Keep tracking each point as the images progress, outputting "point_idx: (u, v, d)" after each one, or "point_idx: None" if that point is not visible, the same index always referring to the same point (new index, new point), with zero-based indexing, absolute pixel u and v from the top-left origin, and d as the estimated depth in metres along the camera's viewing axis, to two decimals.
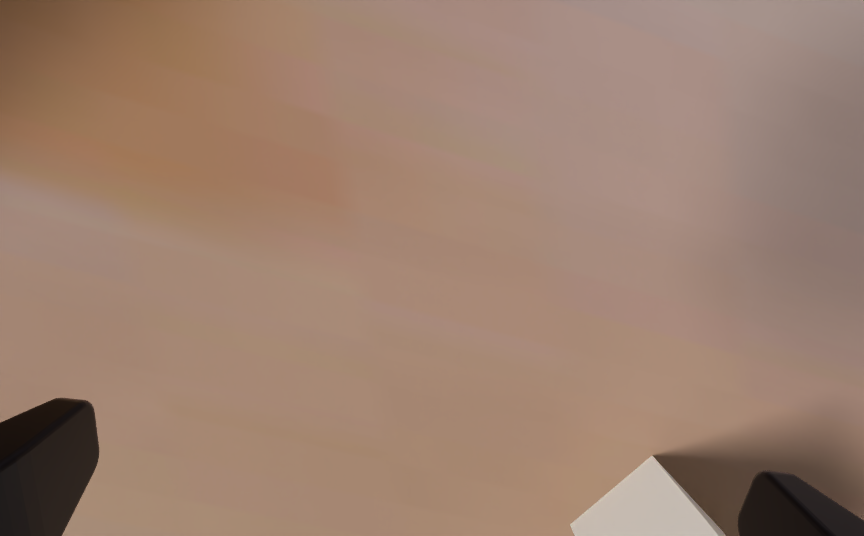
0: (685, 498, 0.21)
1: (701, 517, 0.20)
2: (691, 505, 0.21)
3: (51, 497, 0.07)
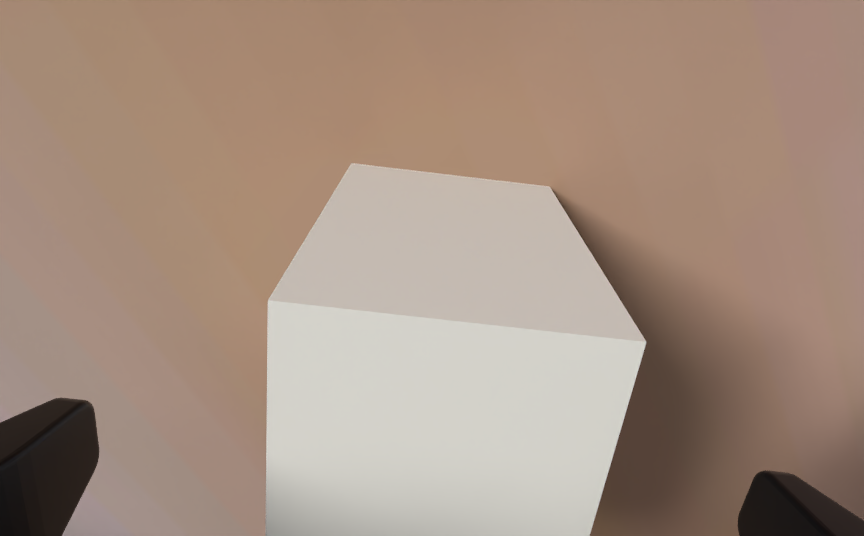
0: (576, 235, 0.11)
1: (593, 262, 0.09)
2: (582, 245, 0.10)
3: (51, 497, 0.07)
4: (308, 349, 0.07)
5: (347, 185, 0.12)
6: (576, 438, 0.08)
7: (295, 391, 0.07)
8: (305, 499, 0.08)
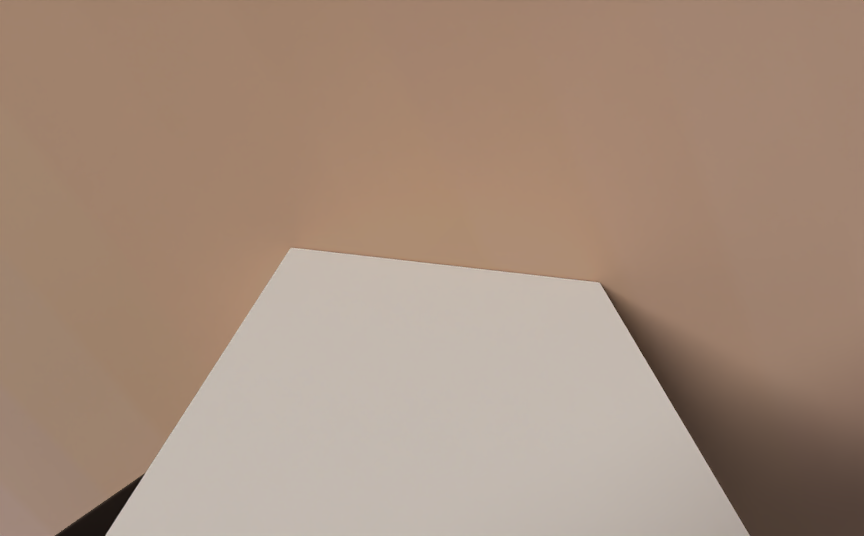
0: (677, 423, 0.06)
1: (735, 524, 0.05)
2: (697, 457, 0.05)
3: None
4: None
5: (269, 306, 0.07)
6: None
7: None
8: None
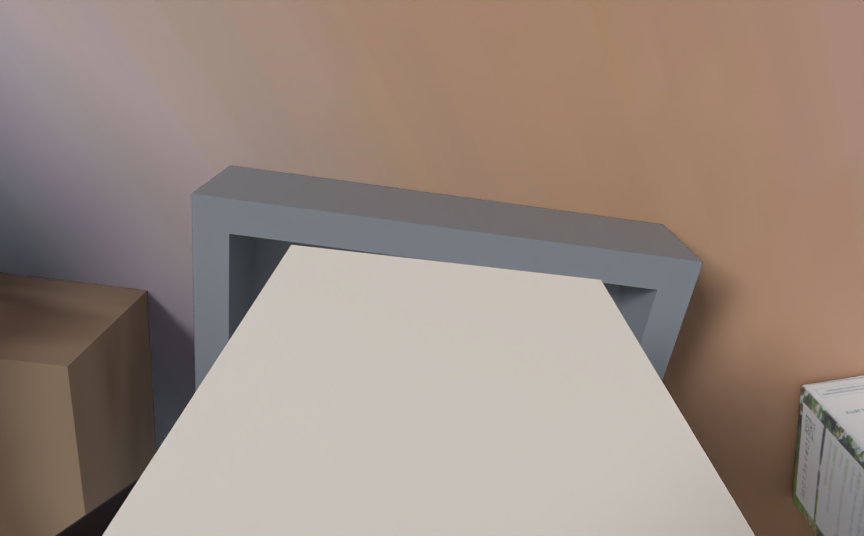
0: (679, 420, 0.06)
1: (738, 520, 0.05)
2: (699, 453, 0.05)
3: None
4: None
5: (270, 302, 0.07)
6: None
7: None
8: None
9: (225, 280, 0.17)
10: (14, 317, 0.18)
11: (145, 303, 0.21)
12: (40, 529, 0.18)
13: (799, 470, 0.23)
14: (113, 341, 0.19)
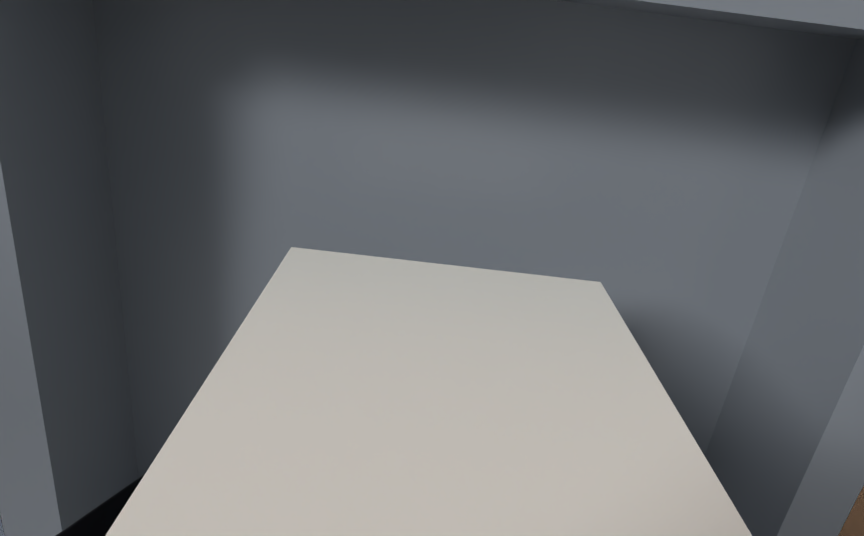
0: (678, 423, 0.06)
1: (738, 524, 0.05)
2: (699, 457, 0.05)
3: None
4: None
5: (270, 305, 0.07)
6: None
7: None
8: None
9: None
10: None
11: None
12: None
13: None
14: None
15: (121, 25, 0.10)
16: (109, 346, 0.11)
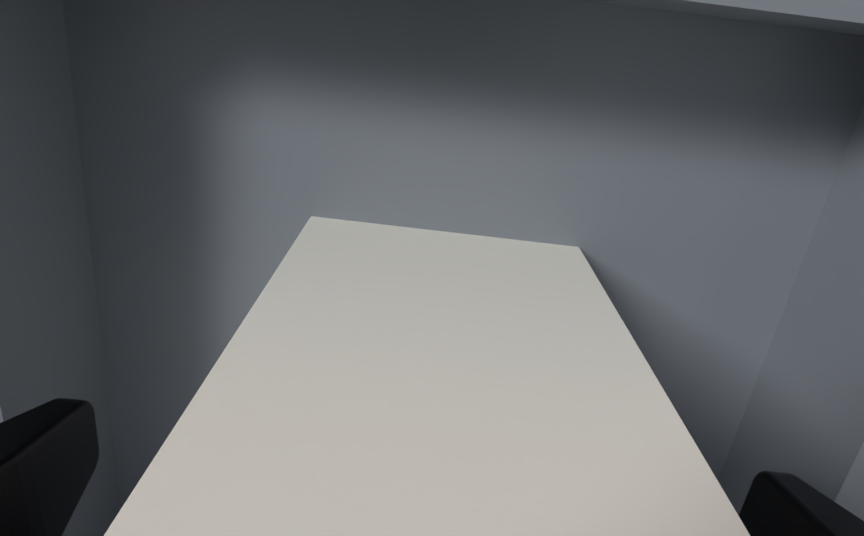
0: (632, 346, 0.07)
1: (669, 409, 0.06)
2: (645, 367, 0.07)
3: (51, 497, 0.07)
4: None
5: (297, 258, 0.08)
6: None
7: None
8: None
9: None
10: None
11: None
12: None
13: None
14: None
15: (94, 24, 0.09)
16: (85, 367, 0.10)
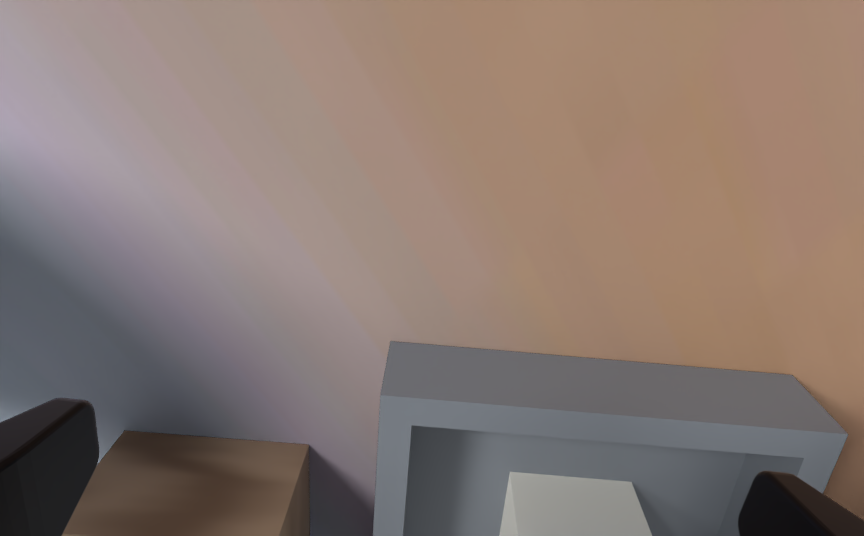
0: None
1: None
2: None
3: (51, 497, 0.07)
4: None
5: (519, 509, 0.20)
6: None
7: None
8: None
9: (405, 461, 0.19)
10: (210, 490, 0.20)
11: (308, 456, 0.23)
12: None
13: None
14: (294, 505, 0.21)
15: None
16: None
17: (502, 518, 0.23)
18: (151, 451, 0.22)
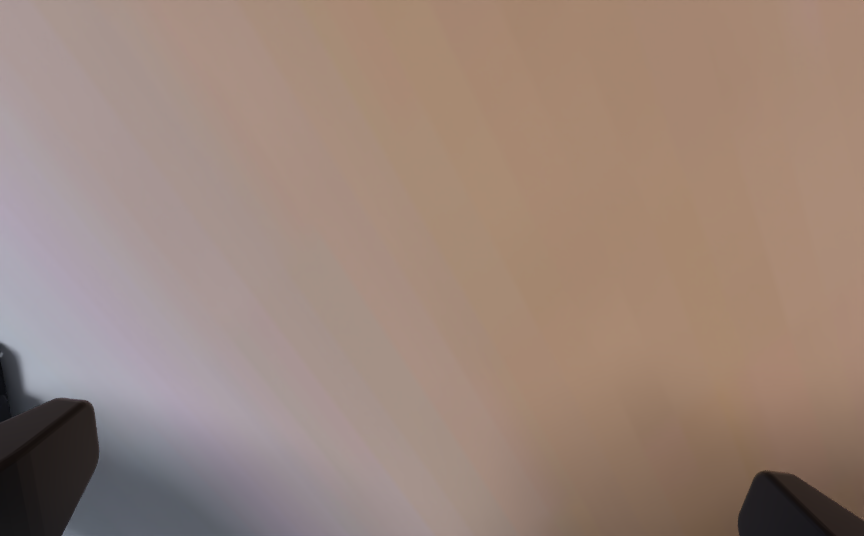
0: None
1: None
2: None
3: (51, 497, 0.07)
4: None
5: None
6: None
7: None
8: None
9: None
10: None
11: None
12: None
13: None
14: None
15: None
16: None
17: None
18: None
